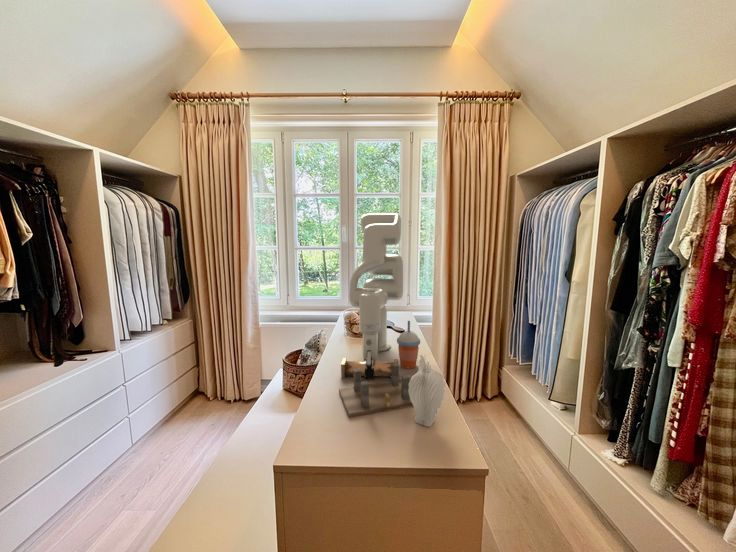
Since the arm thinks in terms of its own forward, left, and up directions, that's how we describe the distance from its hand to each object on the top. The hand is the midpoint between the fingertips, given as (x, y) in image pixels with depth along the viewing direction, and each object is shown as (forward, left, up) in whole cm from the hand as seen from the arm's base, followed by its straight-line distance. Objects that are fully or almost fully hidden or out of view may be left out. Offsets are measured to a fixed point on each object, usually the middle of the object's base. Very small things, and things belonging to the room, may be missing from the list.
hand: (369, 374), depth 108 cm
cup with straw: (-4, +17, -1) cm, 17 cm away
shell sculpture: (+30, +7, -1) cm, 31 cm away
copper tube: (0, 0, -1) cm, 1 cm away
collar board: (+15, -1, 0) cm, 15 cm away
